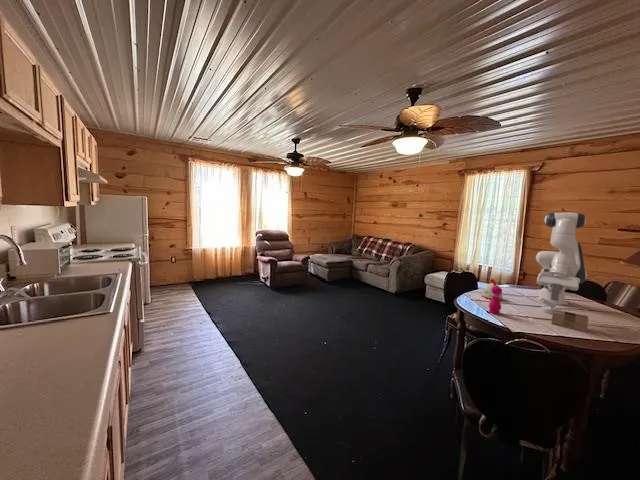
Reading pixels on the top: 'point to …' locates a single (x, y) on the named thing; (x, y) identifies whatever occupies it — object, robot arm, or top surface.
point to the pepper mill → (495, 300)
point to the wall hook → (547, 309)
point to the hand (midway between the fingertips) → (555, 292)
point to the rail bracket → (555, 291)
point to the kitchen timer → (489, 290)
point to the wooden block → (570, 320)
